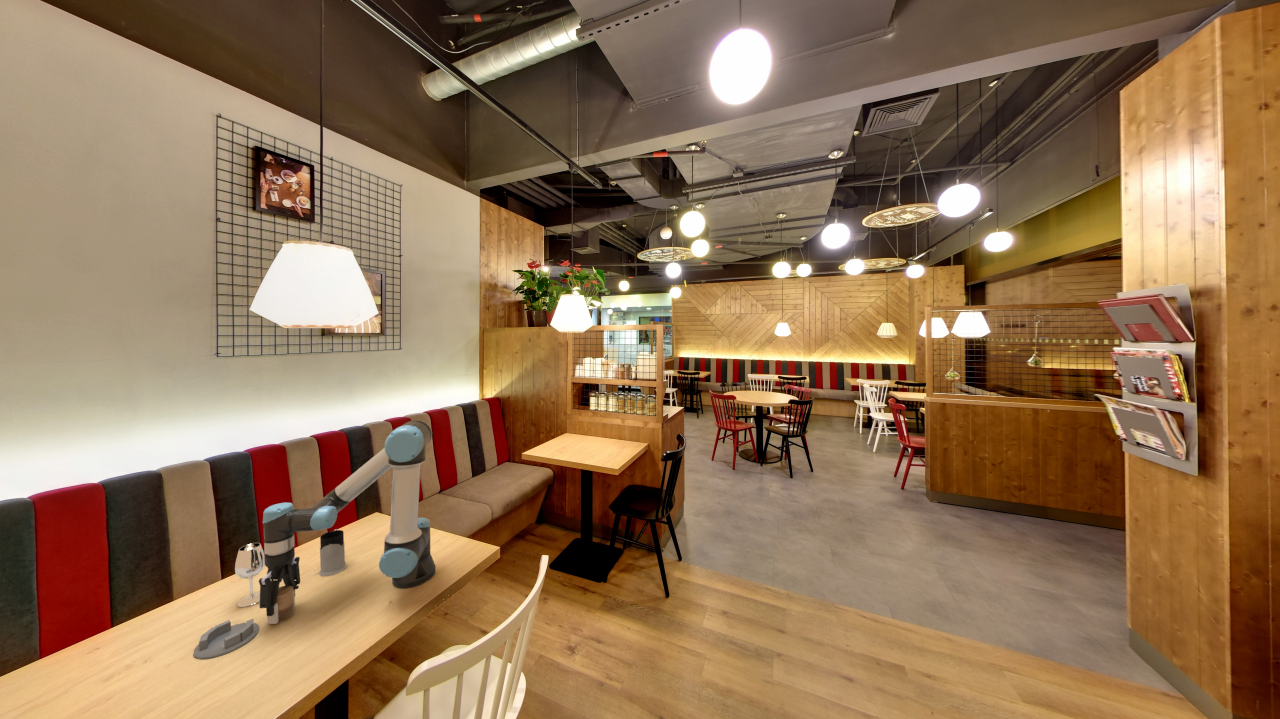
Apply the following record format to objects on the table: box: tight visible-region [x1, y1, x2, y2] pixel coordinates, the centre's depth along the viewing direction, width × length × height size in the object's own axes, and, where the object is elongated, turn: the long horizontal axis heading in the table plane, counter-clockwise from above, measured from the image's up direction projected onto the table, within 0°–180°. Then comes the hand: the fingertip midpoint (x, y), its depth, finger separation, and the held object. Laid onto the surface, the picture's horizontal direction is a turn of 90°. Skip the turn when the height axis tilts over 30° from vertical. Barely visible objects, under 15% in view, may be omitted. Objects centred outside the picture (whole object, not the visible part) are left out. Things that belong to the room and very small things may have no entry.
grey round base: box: [193, 618, 260, 660], centre depth 120 cm, size 14×14×4 cm
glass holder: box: [319, 528, 347, 577], centre depth 161 cm, size 9×14×15 cm, turn 30°
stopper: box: [276, 585, 295, 624], centre depth 131 cm, size 6×6×10 cm
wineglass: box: [234, 542, 266, 608], centre depth 139 cm, size 8×8×20 cm
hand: (281, 615), depth 131 cm, fingers closed on stopper, 6 cm apart
